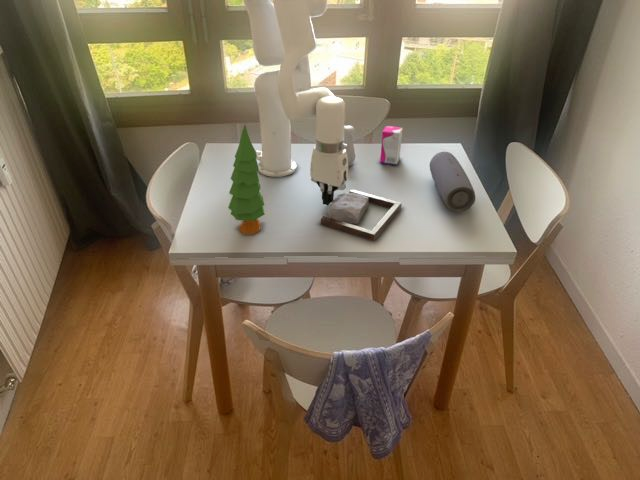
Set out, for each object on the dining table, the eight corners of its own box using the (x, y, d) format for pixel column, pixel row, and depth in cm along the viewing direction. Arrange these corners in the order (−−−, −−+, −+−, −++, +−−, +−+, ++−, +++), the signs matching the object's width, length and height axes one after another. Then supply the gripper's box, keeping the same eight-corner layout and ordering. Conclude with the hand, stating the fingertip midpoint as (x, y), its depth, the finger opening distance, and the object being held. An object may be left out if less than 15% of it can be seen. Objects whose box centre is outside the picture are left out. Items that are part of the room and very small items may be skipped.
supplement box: (400, 158, 170) (403, 127, 164) (396, 166, 166) (399, 133, 159) (383, 156, 172) (386, 124, 165) (379, 163, 167) (382, 131, 161)
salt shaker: (344, 158, 170) (345, 122, 163) (358, 162, 168) (360, 126, 160) (334, 164, 166) (335, 127, 159) (348, 168, 164) (350, 131, 156)
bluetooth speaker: (474, 216, 140) (480, 184, 134) (441, 216, 140) (446, 185, 134) (454, 178, 158) (459, 149, 153) (425, 178, 158) (429, 149, 153)
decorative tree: (267, 236, 131) (259, 128, 114) (231, 240, 129) (218, 131, 112) (264, 217, 138) (256, 114, 121) (230, 220, 137) (217, 116, 120)
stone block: (326, 225, 139) (360, 225, 135) (323, 209, 136) (358, 209, 133) (339, 206, 148) (371, 205, 144) (336, 191, 146) (369, 191, 142)
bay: (320, 224, 136) (320, 218, 135) (351, 194, 149) (351, 189, 148) (373, 241, 129) (374, 234, 128) (400, 208, 143) (401, 202, 142)
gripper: (360, 145, 132) (356, 204, 143) (312, 133, 138) (312, 190, 149) (347, 156, 127) (344, 216, 138) (298, 143, 133) (298, 201, 144)
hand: (327, 202), depth 143 cm, fingers closed
